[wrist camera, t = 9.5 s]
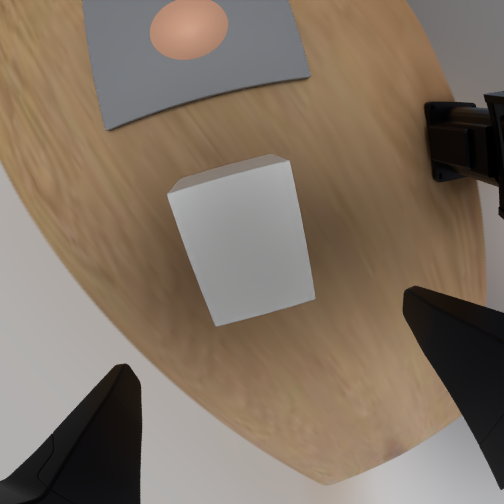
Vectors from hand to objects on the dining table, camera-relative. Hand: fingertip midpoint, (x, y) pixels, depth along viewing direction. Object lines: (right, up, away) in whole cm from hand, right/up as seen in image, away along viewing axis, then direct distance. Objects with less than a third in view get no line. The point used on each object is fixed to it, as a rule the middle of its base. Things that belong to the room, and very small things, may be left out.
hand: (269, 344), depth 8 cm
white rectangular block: (-1, +5, +11) cm, 12 cm away
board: (-5, +20, +4) cm, 21 cm away
